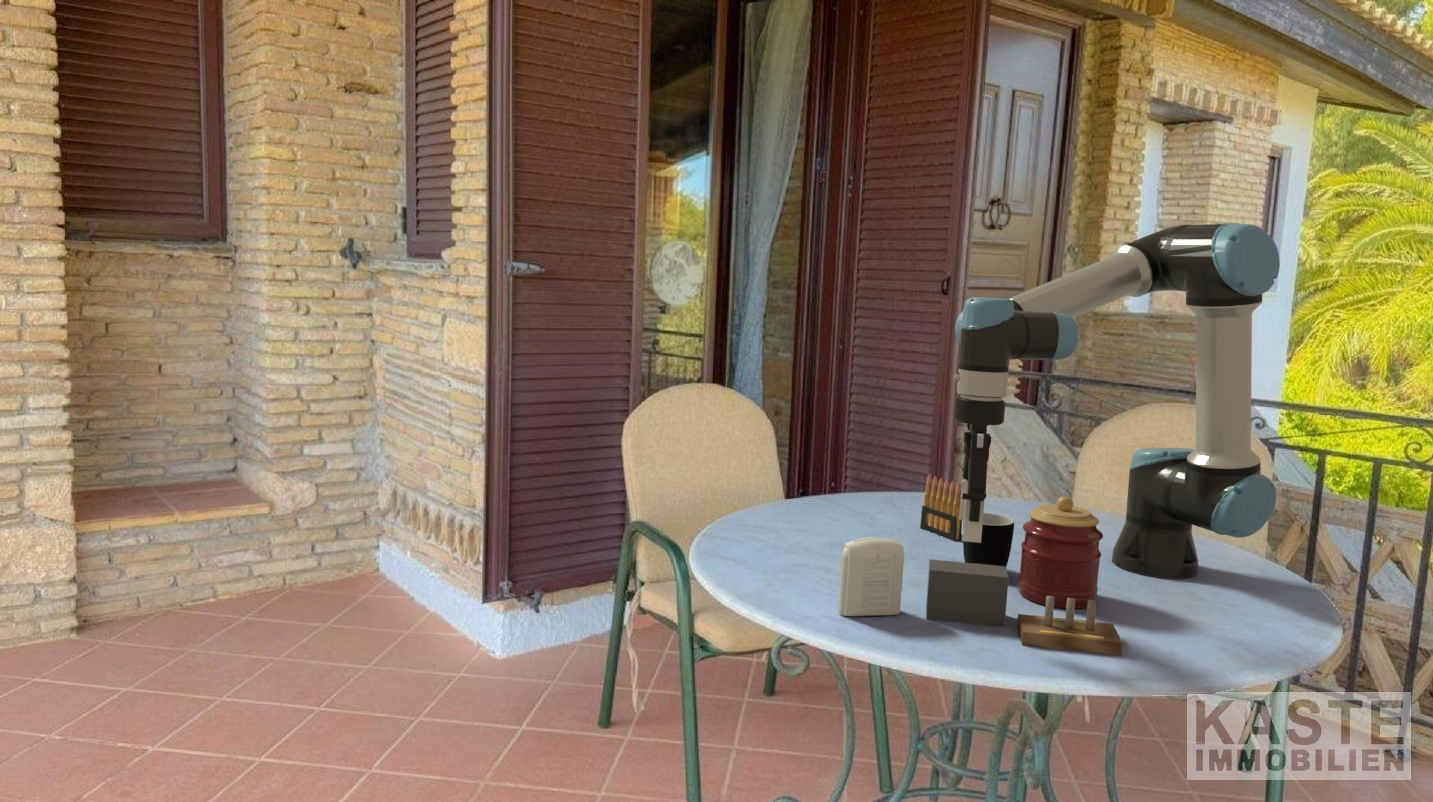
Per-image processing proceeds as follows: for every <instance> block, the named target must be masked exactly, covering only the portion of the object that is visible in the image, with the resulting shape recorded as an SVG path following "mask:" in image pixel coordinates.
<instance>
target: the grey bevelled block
mask: <svg viewBox="0 0 1433 802" xmlns="http://www.w3.org/2000/svg"><path fill="white" fill-rule="evenodd" d="M928 561H929V563H928V574H927V575H928V576H927V589H926V601H925V602H926V604H925V611H926V612H925V613H926V614H925V616H926V617H925V618H926V620H934V621H944V622H953V623H954V622H955V623H964V624H970V625H971V624H973V625H980V626H981V625H982V626H991V627H992V626H993V627H1001V628H1004V627H1005V625H1006V614H1007V604H1008V602H1007V600H1008V590H1009V589H1008V588H1009V579H1010V578H1009V574H1008V571H1007V566H996V565H985V564H975V563H965V561H964V562H962V561H952V560H951V561H950V560H941V559H930V558H929V560H928Z"/></svg>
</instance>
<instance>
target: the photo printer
mask: <svg viewBox="0 0 1433 802" xmlns="http://www.w3.org/2000/svg"><path fill="white" fill-rule="evenodd" d="M904 562H905V552H904V545H903V544H902V543H900V542H899V541H896V540H894V539H890V538H885V537H878V536H877V537H875V536H872V537H871V536H870V537H861V538H857V539H853V540H850V541H848V542H845V543H844V544H843V546H842V550H841V561H840V572H839V573H840V574H839V585H838V586H839V587H838V588H839V589H838V602H837V603H838V606H837V612H838V614H840V615H841V616H844V617H860V616H861V617H863V616H890V615H891V616H893V615H899V614H900V612H901V604H902V603H901V602H902V590H903V587H902V586H903V577H904V564H905V563H904Z"/></svg>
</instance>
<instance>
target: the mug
mask: <svg viewBox="0 0 1433 802" xmlns="http://www.w3.org/2000/svg"><path fill="white" fill-rule="evenodd" d="M963 526H964V520H962V527H963ZM1014 531H1015V520H1014V519H1013V518H1011V517H1008V516H1006V515H1002V514H997V513H992V512H991V513H990V512H984V513H983V524H982V536H981V543H978V542H968V541H963V540H962V547H963V548H962V549H963V559H964V563H975V564H985V565H996V566H1006V567H1007V565H1008V563H1009V559H1010V555H1011V550H1012V544H1013V540H1014V539H1013V538H1014V533H1015V532H1014Z"/></svg>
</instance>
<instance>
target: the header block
mask: <svg viewBox="0 0 1433 802" xmlns="http://www.w3.org/2000/svg"><path fill="white" fill-rule="evenodd" d="M1054 600H1055V597H1053V596H1046V605H1044V608H1045V609H1044V616H1042V615H1033V614H1032V615H1031V614H1021V613H1017V630H1018V634H1019V638H1020V642H1021V645H1022V646H1029V647H1031V646H1032V647H1039V648H1047V649H1056V650H1057V649H1059V650H1066V651H1075V652H1076V651H1077V652H1085V653H1094V654H1096V653H1097V654H1105V655H1113V656H1122V655H1123V654H1122V653H1123V643H1124V642H1123V640H1122V639H1121V637H1120V635H1119V632H1118V631H1117V630H1116V627H1115V625H1114V623H1113V622H1112V623H1109V622H1102V621H1100V622H1099V621H1096V612H1097V600H1088V606H1087V607H1086V608H1087V609H1086V619H1085V620H1081V619H1075V609H1076V608H1075V599H1074V598H1067V605H1066V608H1065V617H1064V618H1061V617H1054V609H1055V607H1054Z"/></svg>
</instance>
